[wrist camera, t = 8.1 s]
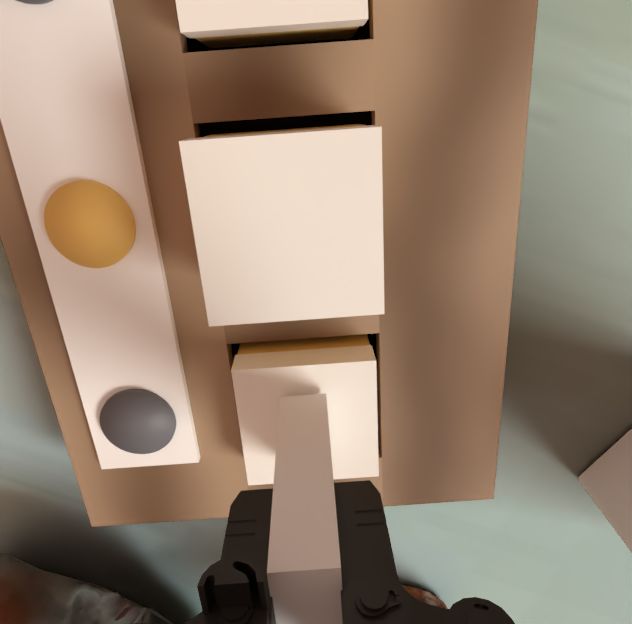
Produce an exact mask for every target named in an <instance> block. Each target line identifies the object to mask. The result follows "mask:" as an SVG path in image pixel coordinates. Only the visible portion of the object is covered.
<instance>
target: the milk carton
mask: <svg viewBox="0 0 632 624" xmlns="http://www.w3.org/2000/svg"><path fill="white" fill-rule="evenodd" d="M579 481H580V483H581V485H582V486H583V487H584V489H585V490H586V491H587V493H588V494H589V495H590V497H591V498H592V499H593V501H594V502H595V504H596V505H597V506H598V508H599V509H600V510H601V512H602V513H603V514H604V516H605V517H606V518H607V520H608V521H609V523H610V524H611V525H612V527H613V528H614V529H615V531H616V532H617V533H618V535H619V536H620V537H621V539H622V540H623V541H624V543H625V544H626V546H627V547H628V548H629V550H630V551H631V552H632V429H631V430H629V431H628V432H627V433H626V434H625V435H624V436H623V437H622V438H621V439H620V440H618V441H617V442H616V443H615V444H614V445H613V446H612V447H611V448H610V449H609V450H607V451H606V452H605V453H604V454H603V455H602V456H601V457H600V458H599V459H597V460H596V461H595V462H594V463H593V464H592V465H591V466H590V467H589V468H588V469H587V470H585V471H584V472H583V473H582V474H581V475H580V477H579Z"/></svg>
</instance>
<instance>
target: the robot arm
mask: <svg viewBox="0 0 632 624" xmlns="http://www.w3.org/2000/svg"><path fill="white" fill-rule="evenodd" d="M197 587H198V592H199V596H200V601H201V605H202V610H203V611H202V612H201V613H200V614H198V615H197V616H196V617H195V618H193V619H191V620H190V621H188V622H186V623H184V624H515V623H514V622H513V620H512V619H511V618H510V617H509V615H508V614H507V613H506V612H505V611H504V610H503V609H502V608H501V607H499V606H497V605H496V604H494V603H492V602H491V601H489V600H485V599H481V598H476V597H473V598H464V599H462V600H460V601H458V602H456V603H455V604H453V605H452V607H451V608H450V609H446V608H442V607H438V606H434V605H430V604H427V603H424V602H422V601H420V600H418V599H416V598H415V597H413V596H412V595H410V594H409V593H408V592H407V591H406V590H405V589H404V587H403V586H402V584H401V583H400V581H399V578H398V575H397V572H396V567H395V562H394V558H393V553H392V548H391V543H390V538H389V533H388V528H387V525H386V518H385V514H384V509H383V504H382V499H381V494H380V492H379V491H378V490H377V488H376V487H375V486H374V485H373V483H372V482H371V481H370V480H365V481H351V482H338V483H334V480H333V468H332V457H331V445H330V433H329V422H328V410H327V399H326V393H325V394H311V395H297V396H283V397H280V403H279V416H278V430H277V443H276V457H275V470H274V483H273V488H271V489H257V490H243V491H240V492H239V494H238V495H237V497H236V498H235V500H234V501H233V503H232V504H231V506H230V511H229V517H228V525H227V528H226V534H225V539H224V545H223V551H222V556H221V560H220V561H218V562H216V563H215V564H213V565H211V566H210V567H209V568H208V569H207V570H206V571H205V573H204V574H203V575H202V577H201V579H200V581H199V584H198V586H197ZM134 624H148V623H134Z"/></svg>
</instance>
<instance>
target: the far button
mask: <svg viewBox="0 0 632 624" xmlns="http://www.w3.org/2000/svg"><path fill="white" fill-rule="evenodd" d="M231 374H232V381H233V387H234V394H235V401H236V407H237V414H238V421H239V427H240V434H241V441H242V447H243V454H244V461H245V467H246V474H247V480H248V486H249V485H263V484H273V483H274V470H275V457H276V443H277V430H278V416H279V403H280V397H283V396H297V395H311V394H325V393H326V399H327V410H328V422H329V433H330V445H331V457H332V468H333V480H334V479H349V478H363V477H377V476H379V458H378V415H377V371H376V358H375V354H374V351H373V348H372V345H370V344H369V340H368V336H367V334H360V335H346V336H332V337H318V338H304V339H289V340H275V341H261V342H247V343H240V347H239V350H238V354H237V355H235V358H234V362H233V365H232V369H231Z"/></svg>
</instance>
